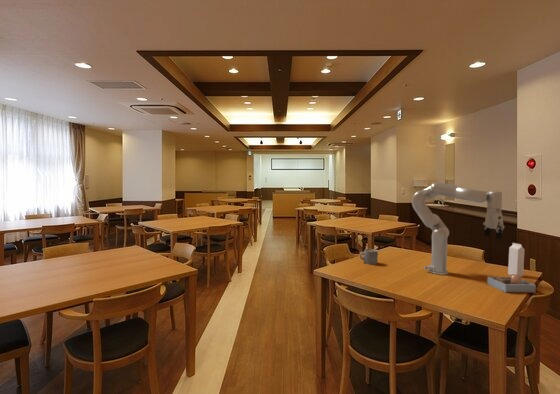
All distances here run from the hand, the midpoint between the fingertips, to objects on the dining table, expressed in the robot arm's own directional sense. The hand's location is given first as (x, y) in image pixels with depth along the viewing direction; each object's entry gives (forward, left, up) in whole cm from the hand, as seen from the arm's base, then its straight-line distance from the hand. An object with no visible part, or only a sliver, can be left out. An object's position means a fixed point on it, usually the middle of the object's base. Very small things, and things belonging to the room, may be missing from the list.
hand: (492, 237), depth 191 cm
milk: (+26, +12, -28) cm, 40 cm away
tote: (+2, -13, -28) cm, 31 cm away
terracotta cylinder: (+6, -13, -28) cm, 31 cm away
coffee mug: (-66, +42, -28) cm, 83 cm away
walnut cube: (-2, -13, -28) cm, 31 cm away
